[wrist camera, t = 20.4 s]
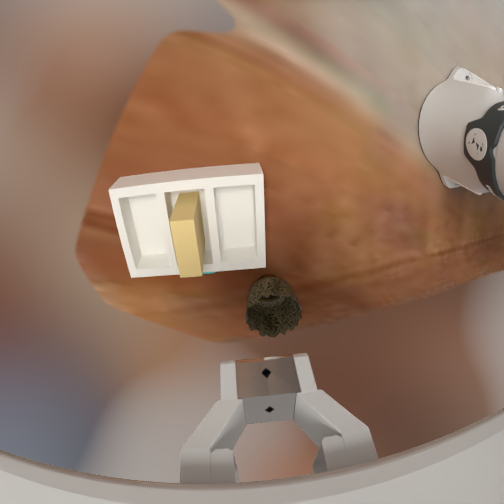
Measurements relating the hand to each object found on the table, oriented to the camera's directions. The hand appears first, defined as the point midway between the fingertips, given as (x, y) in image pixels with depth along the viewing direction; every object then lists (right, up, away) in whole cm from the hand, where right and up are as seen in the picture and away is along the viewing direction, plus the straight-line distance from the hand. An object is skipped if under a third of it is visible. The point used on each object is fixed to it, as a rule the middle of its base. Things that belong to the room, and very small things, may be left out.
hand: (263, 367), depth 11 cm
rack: (-8, +9, +30) cm, 33 cm away
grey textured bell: (+2, 0, +37) cm, 37 cm away
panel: (-8, +8, +30) cm, 32 cm away
